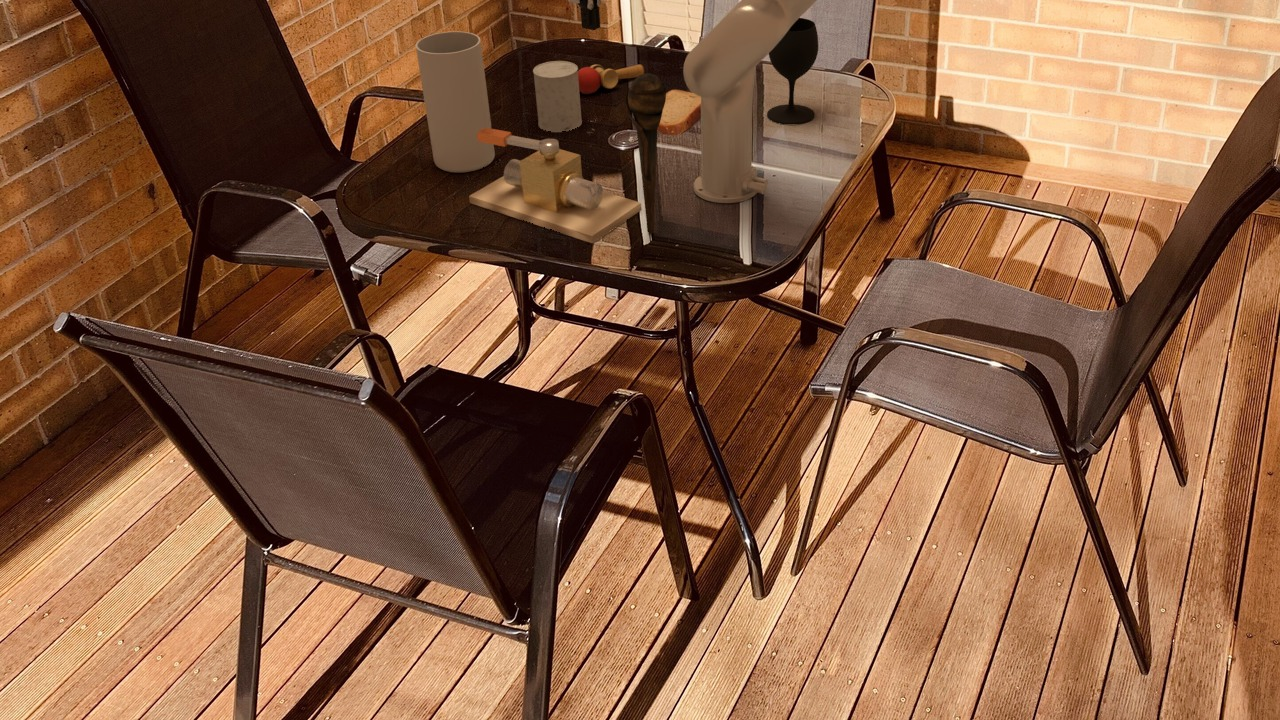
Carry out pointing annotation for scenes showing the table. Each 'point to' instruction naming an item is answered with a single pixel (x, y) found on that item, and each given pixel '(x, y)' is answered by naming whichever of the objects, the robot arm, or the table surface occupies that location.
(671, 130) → the bread slice
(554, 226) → the mounting board
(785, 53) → the wine glass
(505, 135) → the valve lever
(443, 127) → the cylinder vase
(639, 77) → the decorative torch
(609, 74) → the kendama
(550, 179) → the valve body
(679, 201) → the table surface
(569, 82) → the grey stone cylinder
